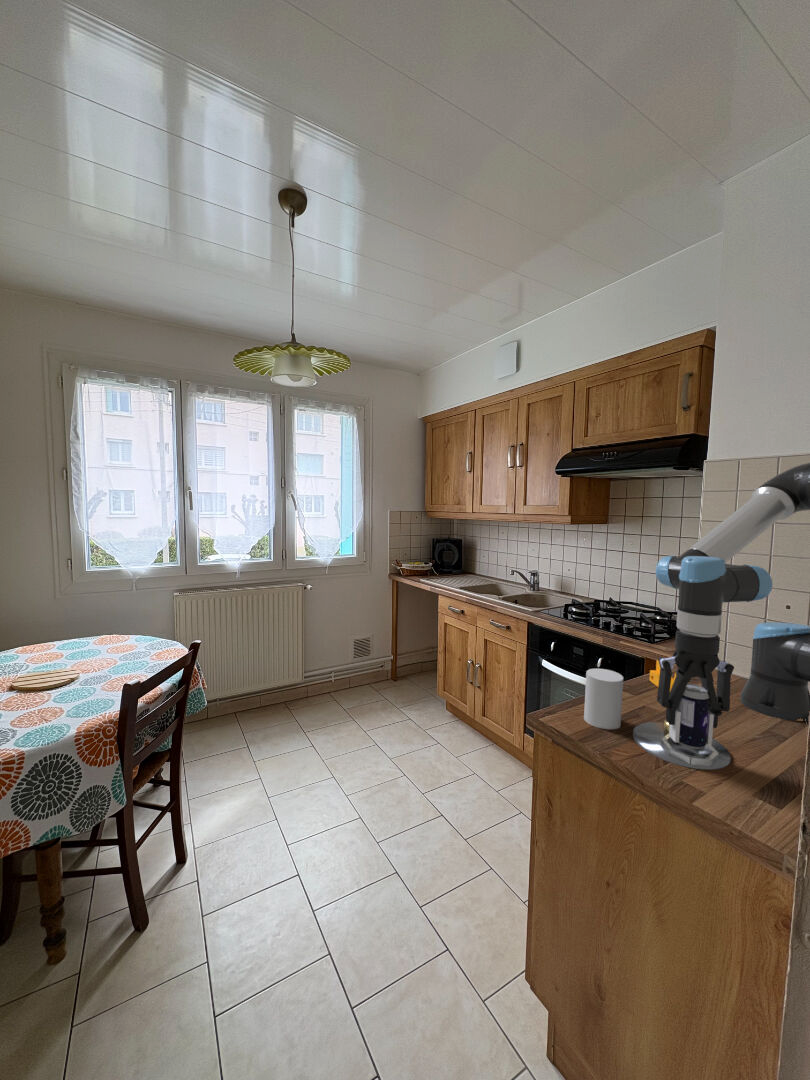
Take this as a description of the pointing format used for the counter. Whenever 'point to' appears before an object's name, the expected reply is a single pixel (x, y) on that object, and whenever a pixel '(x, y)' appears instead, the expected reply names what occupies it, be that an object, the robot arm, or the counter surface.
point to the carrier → (679, 748)
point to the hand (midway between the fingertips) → (689, 740)
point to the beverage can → (694, 717)
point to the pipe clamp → (656, 674)
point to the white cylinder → (603, 698)
